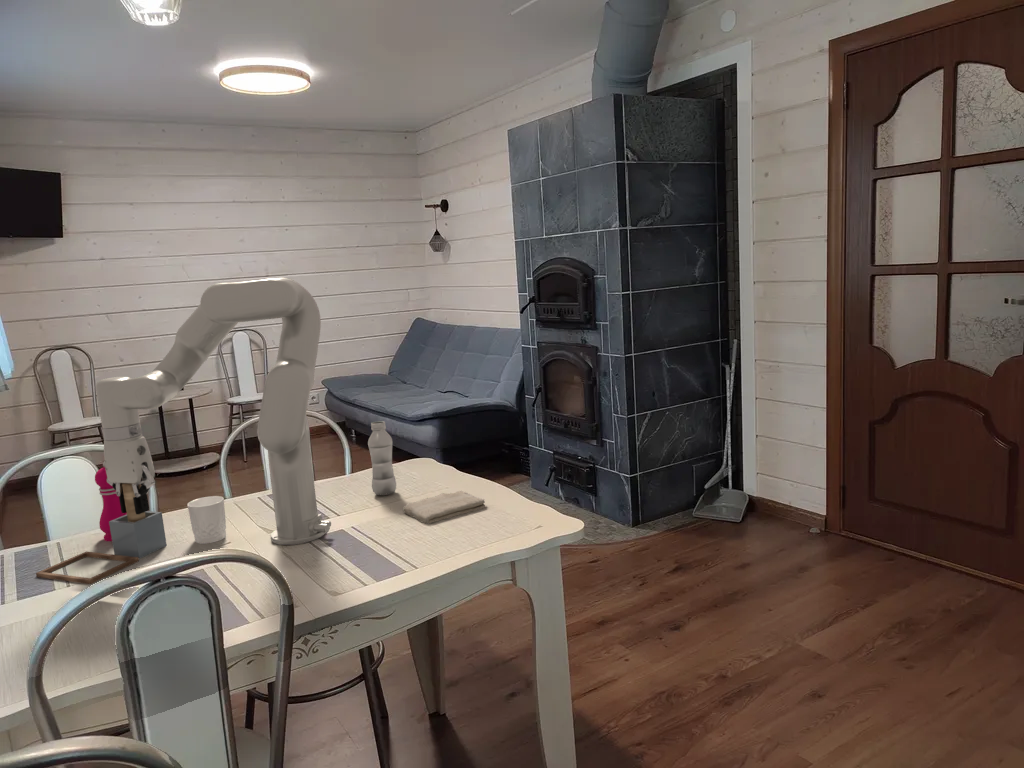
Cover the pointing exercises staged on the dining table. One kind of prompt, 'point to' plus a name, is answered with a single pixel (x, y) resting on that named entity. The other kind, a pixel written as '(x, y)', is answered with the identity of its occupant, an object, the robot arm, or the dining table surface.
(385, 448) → the plastic bottle
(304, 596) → the dining table surface
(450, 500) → the washcloth
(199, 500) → the white cup
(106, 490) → the pepper mill
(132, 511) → the dowel
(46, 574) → the tray
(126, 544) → the grey hollow box
